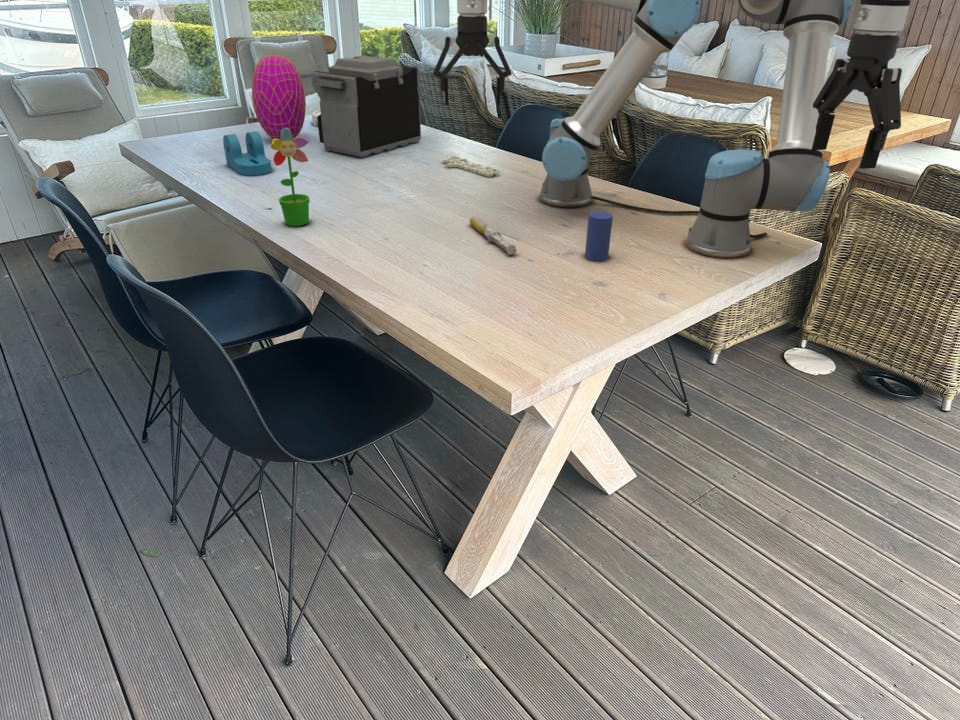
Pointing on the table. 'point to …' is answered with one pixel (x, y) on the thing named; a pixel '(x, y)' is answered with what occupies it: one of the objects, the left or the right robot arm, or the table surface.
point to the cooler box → (367, 105)
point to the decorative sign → (470, 166)
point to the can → (598, 235)
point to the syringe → (492, 235)
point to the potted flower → (291, 178)
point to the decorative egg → (278, 96)
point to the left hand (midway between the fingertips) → (472, 104)
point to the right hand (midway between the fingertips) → (841, 158)
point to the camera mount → (246, 154)
